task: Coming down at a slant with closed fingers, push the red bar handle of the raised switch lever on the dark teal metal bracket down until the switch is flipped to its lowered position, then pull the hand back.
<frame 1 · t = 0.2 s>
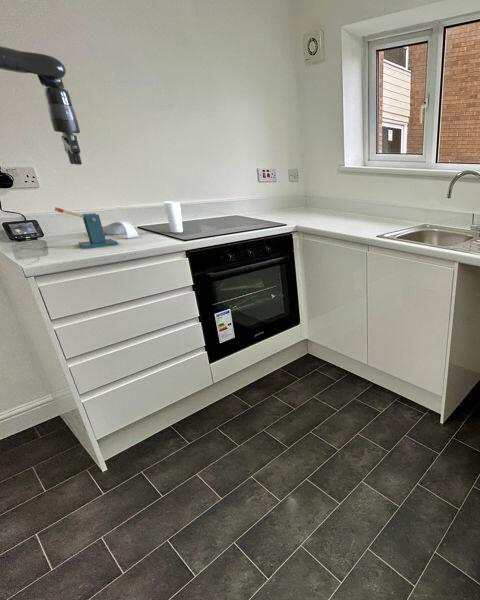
hand: (76, 164, 138), 32 cm above the countertop, tool pointing down, fingers open, 8 cm apart
drinking glass: (177, 232, 179), on the countertop
switch lever: (76, 214, 141), point 13 cm above the countertop, hinge at 25.0°
white rounded block: (121, 235, 169), on the countertop
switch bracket: (98, 244, 149), on the countertop
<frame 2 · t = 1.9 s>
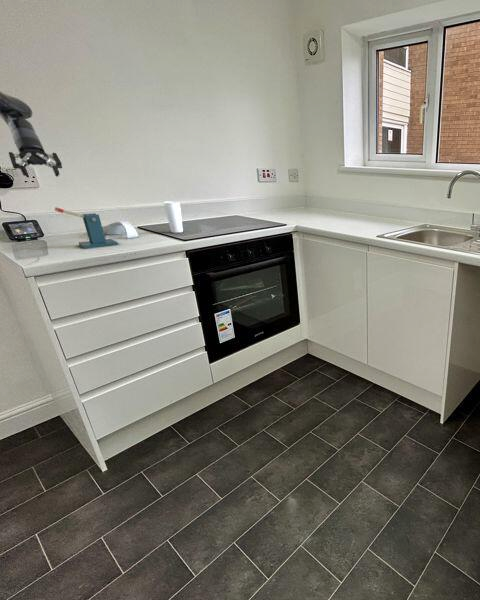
hand: (42, 175, 139), 28 cm above the countertop, tool tilted 45°, fingers open, 8 cm apart
nothing on the countertop moved.
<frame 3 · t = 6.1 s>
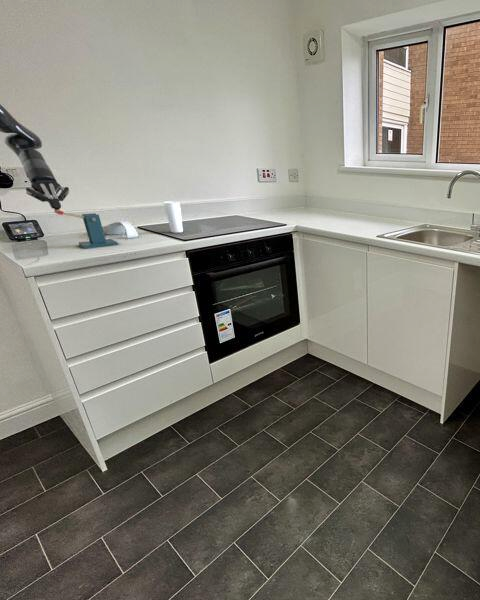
hand: (57, 208, 136), 16 cm above the countertop, tool tilted 45°, fingers closed
switch lever: (76, 215, 141), point 13 cm above the countertop, hinge at 20.3°, touching gripper
everything else where it was.
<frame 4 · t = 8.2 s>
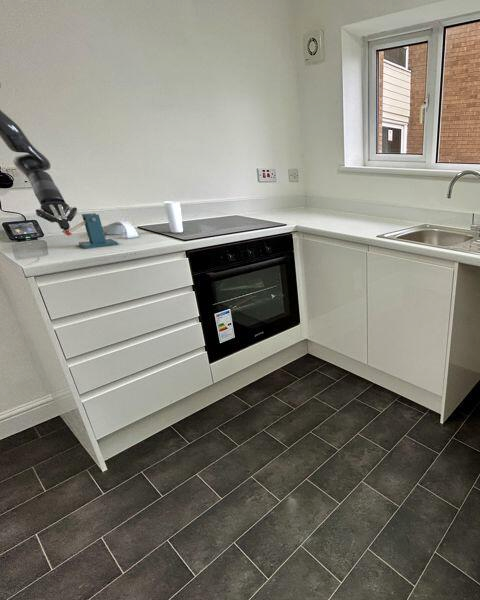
hand: (66, 228, 140), 8 cm above the countertop, tool tilted 45°, fingers closed
switch lever: (80, 225, 143), point 9 cm above the countertop, hinge at -27.8°, touching gripper
everything else where it was.
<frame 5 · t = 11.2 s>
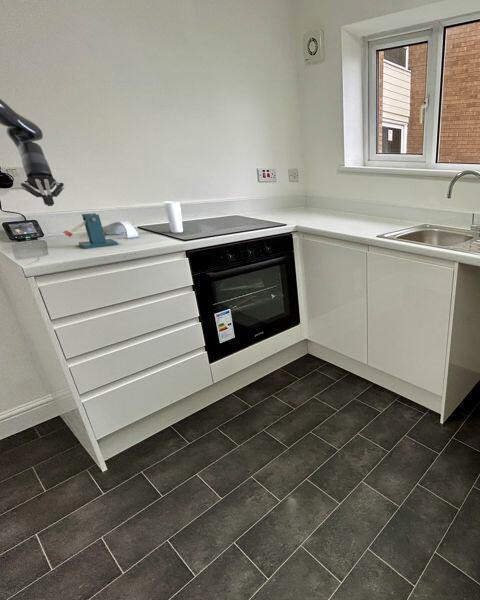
hand: (50, 204, 139), 17 cm above the countertop, tool tilted 40°, fingers closed
switch lever: (80, 225, 143), point 9 cm above the countertop, hinge at -30.5°
everything else where it was.
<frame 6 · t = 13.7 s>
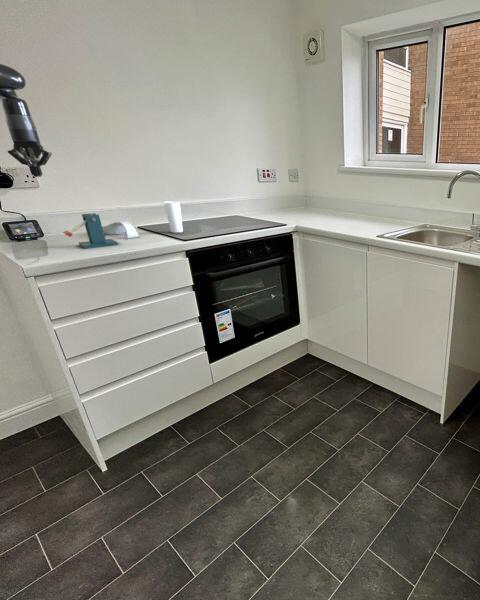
hand: (37, 176, 139), 27 cm above the countertop, tool pointing down, fingers closed
nothing on the countertop moved.
at the end: switch lever at -30° (first picture: +25°); white rounded block moved 0.2 cm from its start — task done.
